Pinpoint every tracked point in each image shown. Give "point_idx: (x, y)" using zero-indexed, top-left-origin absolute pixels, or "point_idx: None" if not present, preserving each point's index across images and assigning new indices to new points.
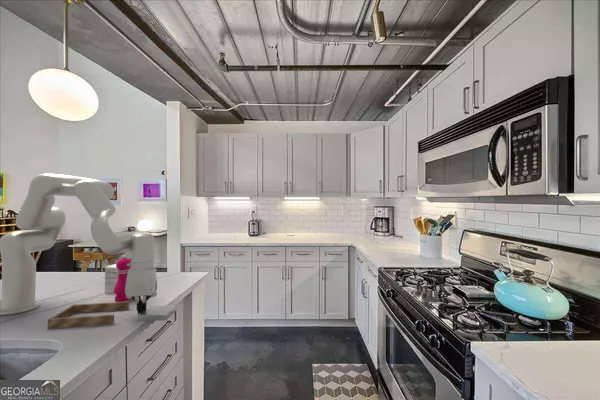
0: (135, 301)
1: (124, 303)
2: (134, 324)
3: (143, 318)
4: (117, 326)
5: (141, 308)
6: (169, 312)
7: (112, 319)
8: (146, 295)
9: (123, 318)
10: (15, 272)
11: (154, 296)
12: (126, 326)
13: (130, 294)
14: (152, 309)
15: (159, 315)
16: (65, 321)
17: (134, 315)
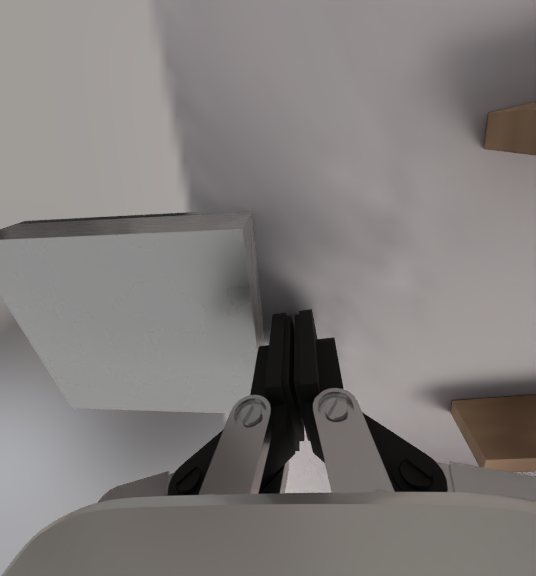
0: (356, 412)
1: (517, 449)
2: (230, 118)
3: (197, 221)
4: (398, 43)
5: (276, 343)
6: (18, 308)
7: (529, 107)
8: (143, 501)
9: (421, 256)
10: None
11: (123, 488)
12: (287, 52)
13: (501, 559)
14: (195, 353)
15: (28, 237)
16: None
17: (349, 313)
